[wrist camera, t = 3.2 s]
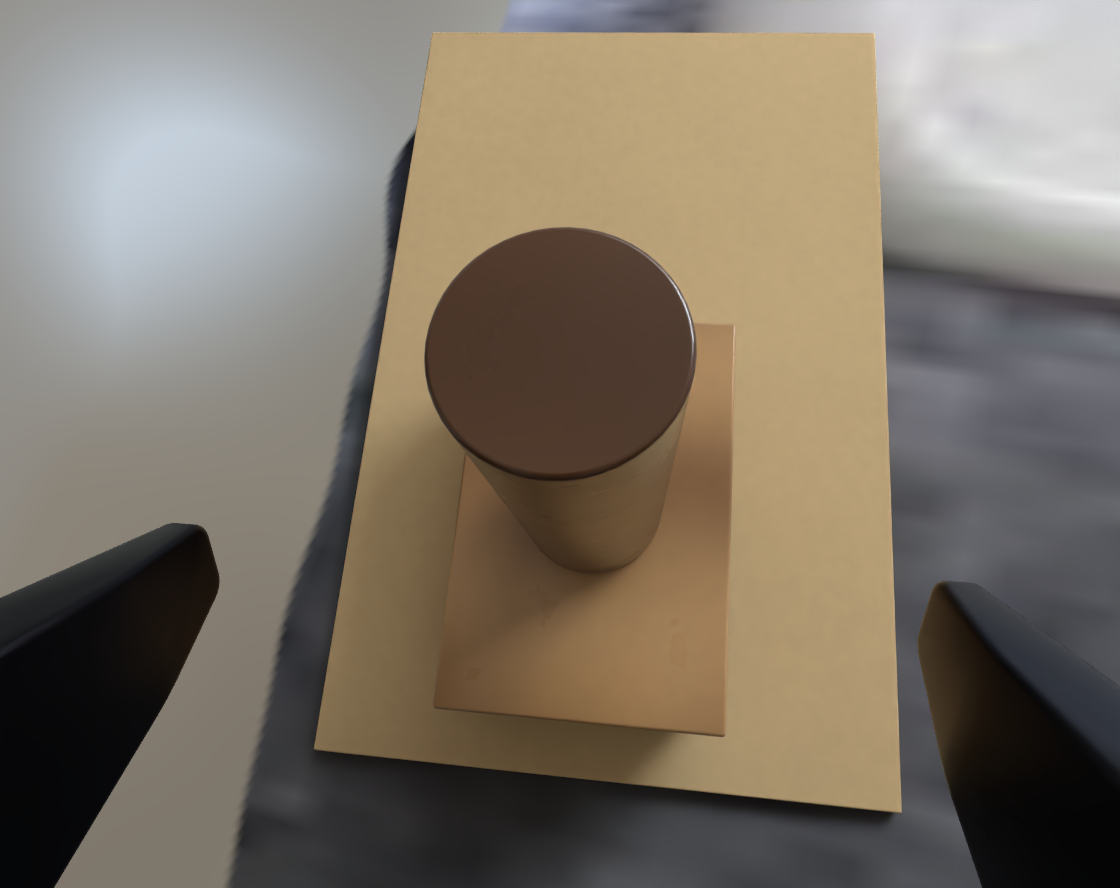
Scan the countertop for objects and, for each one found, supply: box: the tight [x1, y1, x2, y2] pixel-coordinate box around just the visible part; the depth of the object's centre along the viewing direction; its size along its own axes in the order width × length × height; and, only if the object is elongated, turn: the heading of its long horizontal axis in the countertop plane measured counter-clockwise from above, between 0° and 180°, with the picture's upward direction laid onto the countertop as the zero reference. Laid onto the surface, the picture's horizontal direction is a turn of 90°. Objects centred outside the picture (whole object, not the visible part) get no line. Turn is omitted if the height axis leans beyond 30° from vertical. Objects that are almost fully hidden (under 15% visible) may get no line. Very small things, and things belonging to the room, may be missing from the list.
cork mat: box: [314, 33, 902, 813], centre depth 21 cm, size 22×14×1 cm, turn 175°
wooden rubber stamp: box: [424, 227, 736, 737], centre depth 14 cm, size 9×6×12 cm, turn 175°
